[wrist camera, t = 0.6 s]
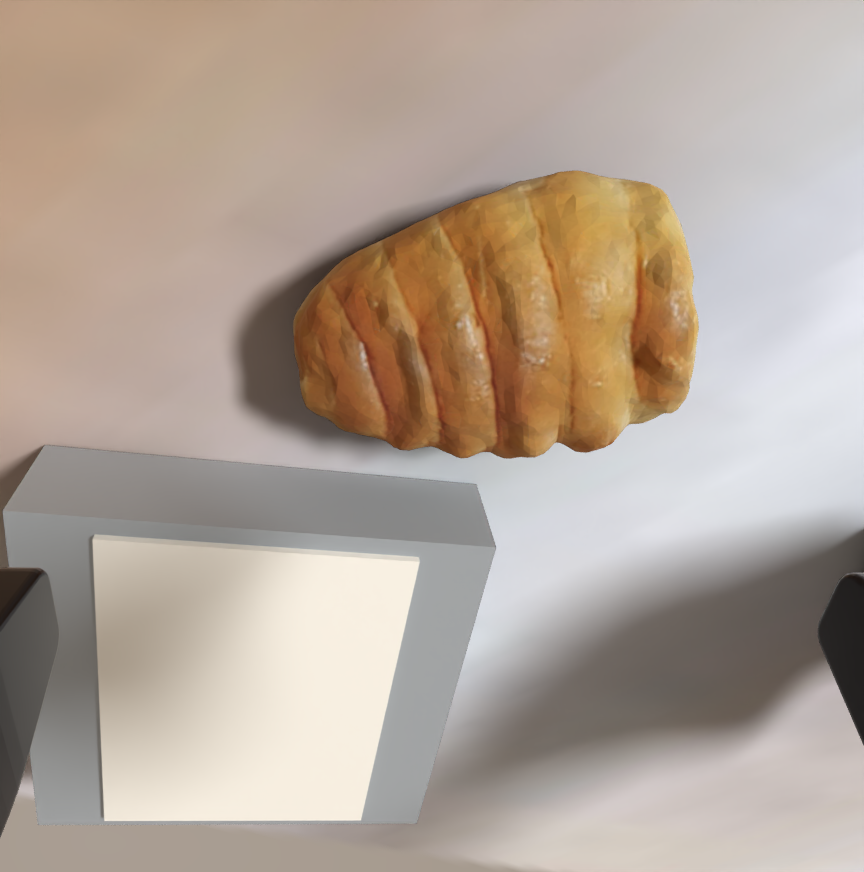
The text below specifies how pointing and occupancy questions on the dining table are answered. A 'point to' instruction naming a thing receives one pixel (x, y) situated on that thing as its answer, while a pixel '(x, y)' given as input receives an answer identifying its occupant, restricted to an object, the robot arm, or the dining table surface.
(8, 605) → the robot arm
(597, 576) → the dining table surface
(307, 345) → the pastry
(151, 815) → the plinth
